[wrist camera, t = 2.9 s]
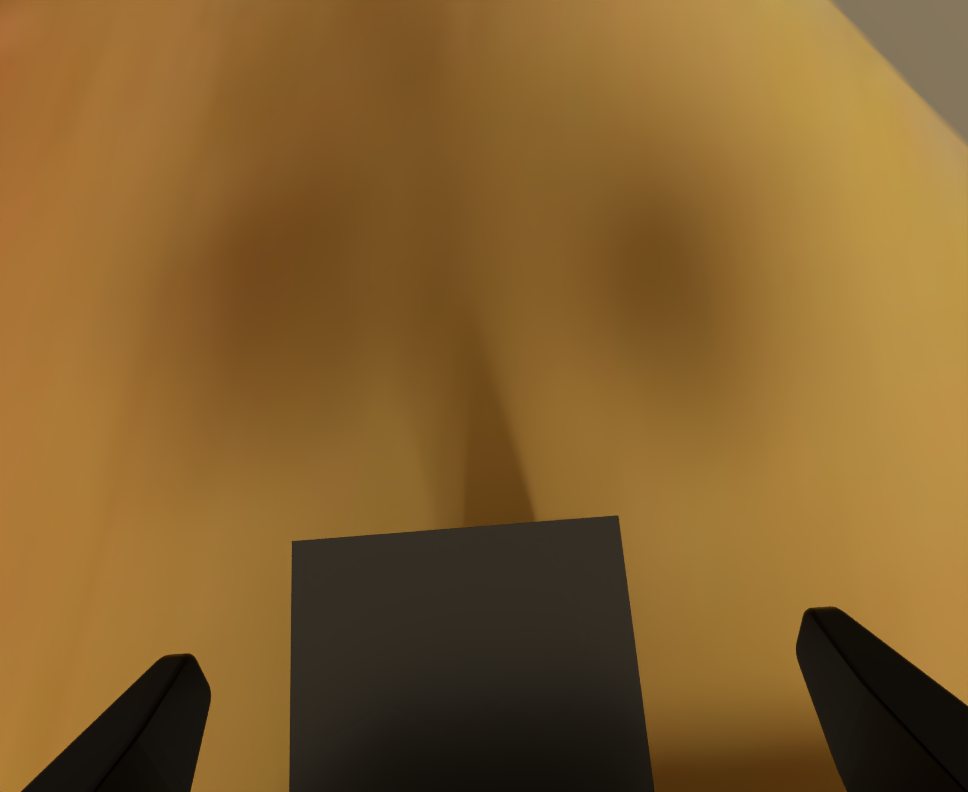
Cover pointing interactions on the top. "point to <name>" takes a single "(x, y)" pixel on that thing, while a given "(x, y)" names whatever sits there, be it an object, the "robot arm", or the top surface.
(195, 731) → the robot arm
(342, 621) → the grey l-shaped block
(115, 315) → the top surface
